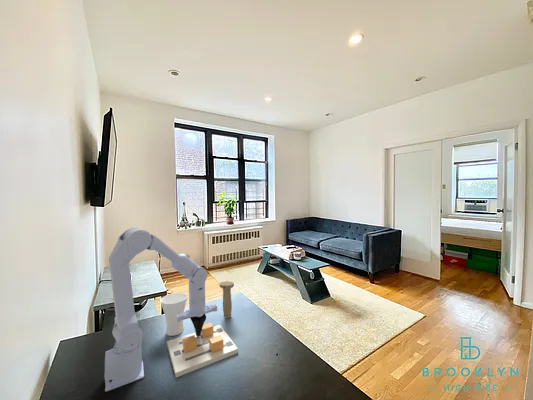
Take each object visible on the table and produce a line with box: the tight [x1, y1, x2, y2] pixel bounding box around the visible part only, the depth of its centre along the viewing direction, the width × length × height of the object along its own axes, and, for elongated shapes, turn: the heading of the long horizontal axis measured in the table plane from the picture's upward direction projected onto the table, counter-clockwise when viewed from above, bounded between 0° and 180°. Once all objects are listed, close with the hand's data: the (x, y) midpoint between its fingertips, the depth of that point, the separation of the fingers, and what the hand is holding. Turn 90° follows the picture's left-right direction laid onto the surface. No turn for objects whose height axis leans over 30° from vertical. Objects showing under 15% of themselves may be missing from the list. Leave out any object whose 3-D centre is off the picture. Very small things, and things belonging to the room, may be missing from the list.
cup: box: [159, 292, 189, 337], centre depth 92 cm, size 10×10×14 cm
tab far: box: [201, 322, 214, 337], centre depth 86 cm, size 4×3×3 cm
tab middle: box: [182, 335, 197, 353], centre depth 78 cm, size 4×3×3 cm
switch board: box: [166, 324, 239, 379], centre depth 80 cm, size 20×18×2 cm
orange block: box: [209, 335, 224, 352], centre depth 78 cm, size 4×3×3 cm
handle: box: [218, 280, 235, 319], centre depth 102 cm, size 5×6×15 cm
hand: (198, 334), depth 85 cm, fingers closed
